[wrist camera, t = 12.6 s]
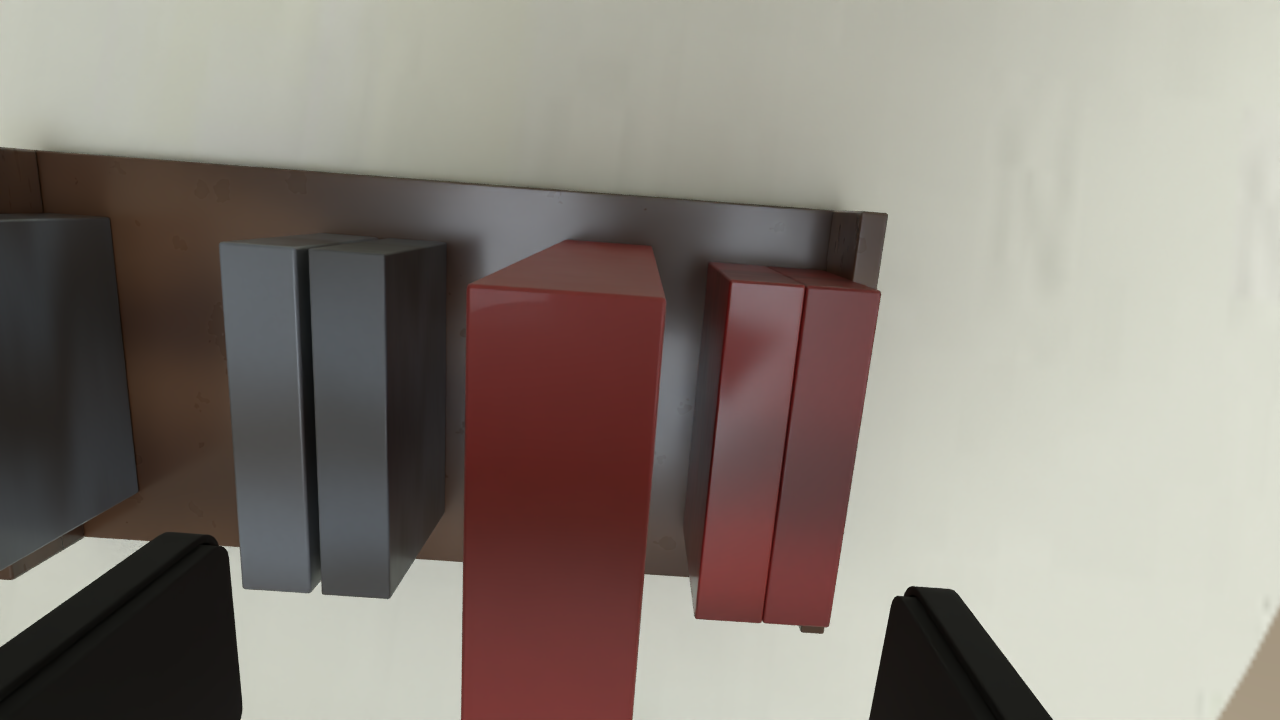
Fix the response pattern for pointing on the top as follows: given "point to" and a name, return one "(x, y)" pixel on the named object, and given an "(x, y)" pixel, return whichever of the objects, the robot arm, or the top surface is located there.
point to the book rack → (403, 370)
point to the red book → (558, 480)
